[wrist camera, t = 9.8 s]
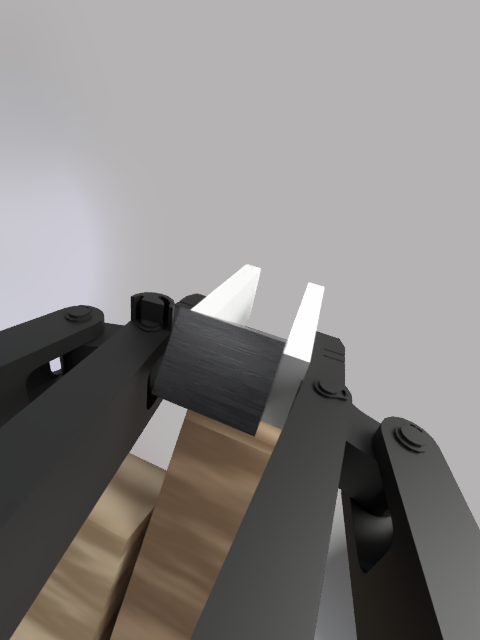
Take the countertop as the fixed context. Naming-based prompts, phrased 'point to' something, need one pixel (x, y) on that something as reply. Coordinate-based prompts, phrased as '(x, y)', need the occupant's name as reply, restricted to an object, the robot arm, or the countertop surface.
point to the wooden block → (192, 527)
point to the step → (97, 561)
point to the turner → (219, 369)
